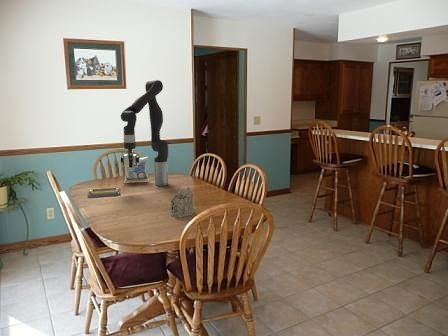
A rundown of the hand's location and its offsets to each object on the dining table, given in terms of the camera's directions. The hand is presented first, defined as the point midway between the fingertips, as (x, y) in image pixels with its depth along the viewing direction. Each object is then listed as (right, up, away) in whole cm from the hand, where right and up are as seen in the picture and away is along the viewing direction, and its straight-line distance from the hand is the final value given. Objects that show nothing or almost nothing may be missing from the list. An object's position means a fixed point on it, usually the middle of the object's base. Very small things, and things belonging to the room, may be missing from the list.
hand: (130, 166), depth 255 cm
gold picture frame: (-17, -18, -2) cm, 25 cm away
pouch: (-3, -12, +32) cm, 35 cm away
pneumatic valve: (0, -3, +1) cm, 3 cm away
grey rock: (+38, -26, -42) cm, 63 cm away
